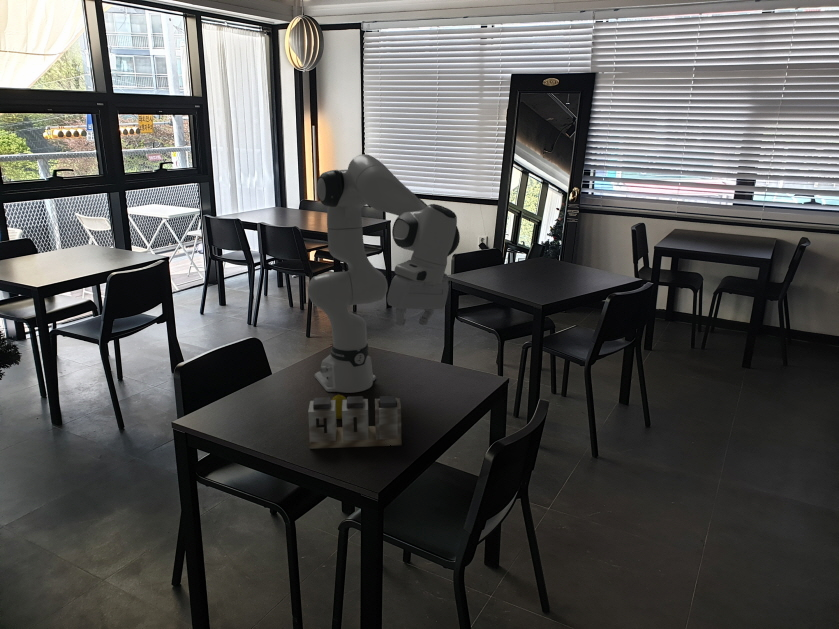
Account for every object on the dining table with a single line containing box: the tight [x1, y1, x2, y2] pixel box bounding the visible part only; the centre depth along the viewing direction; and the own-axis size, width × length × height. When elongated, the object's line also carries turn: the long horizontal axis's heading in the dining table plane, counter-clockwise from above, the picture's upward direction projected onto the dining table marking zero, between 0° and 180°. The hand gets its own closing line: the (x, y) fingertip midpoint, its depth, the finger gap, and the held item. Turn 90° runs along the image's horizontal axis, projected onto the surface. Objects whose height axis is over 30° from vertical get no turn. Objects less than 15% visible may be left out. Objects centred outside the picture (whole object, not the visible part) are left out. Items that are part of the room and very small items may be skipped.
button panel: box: [307, 395, 403, 450], centre depth 179 cm, size 25×9×12 cm, turn 95°
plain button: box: [379, 395, 397, 408], centre depth 179 cm, size 4×4×6 cm
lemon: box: [331, 393, 347, 420], centre depth 191 cm, size 6×6×8 cm
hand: (411, 324), depth 161 cm, fingers open, 8 cm apart
